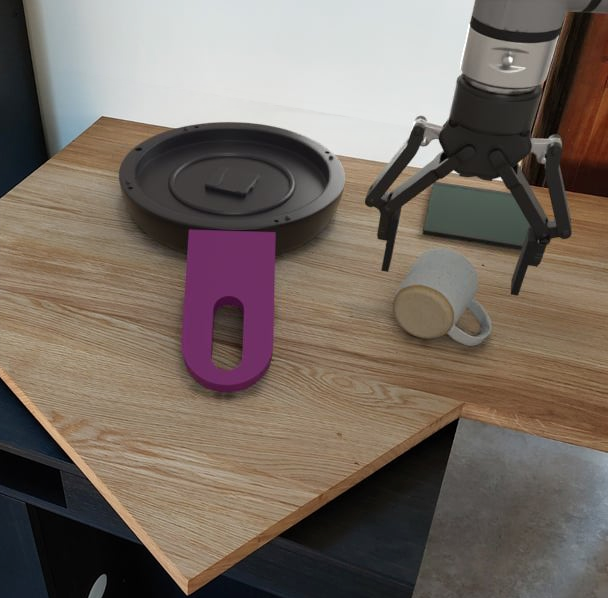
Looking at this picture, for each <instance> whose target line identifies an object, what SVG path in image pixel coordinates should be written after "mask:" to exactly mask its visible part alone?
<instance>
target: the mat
mask: <svg viewBox="0 0 608 598" xmlns="http://www.w3.org/2000/svg"><path fill="white" fill-rule="evenodd" d="M529 227H530V228H531V226H530V224H529V223H528V221H527V219H526V217H525V216H524V214H523V212H522V211H521V209H520V207H519V205H518V204H517V202H516V200H515V199H514V197H513V195H512V193H511V192H510V191H502V190H495V189H489V188H481V187H475V186H468V185H463V184H462V185H461V184H454V183H447V182H442V181H436V182H434V183H433V184H432V188H431V194H430V198H429V202H428V207H427V211H426V216H425V221H424V225H423V230H422V235H426V236H431V237H438V238H444V239H450V240H457V241H463V242H468V243H469V242H470V243H474V244H482V245H487V246H493V247H499V248H507V249H512V250H518V251H521V249H522V246H523V243H524V240H525V237H526V234H527V231H528V228H529Z"/></svg>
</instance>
